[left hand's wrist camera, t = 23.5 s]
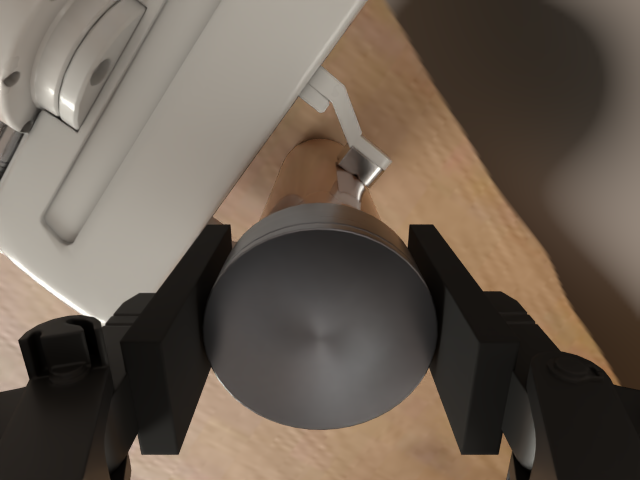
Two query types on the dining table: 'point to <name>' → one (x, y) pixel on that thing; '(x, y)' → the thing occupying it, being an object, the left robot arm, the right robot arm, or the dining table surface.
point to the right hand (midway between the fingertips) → (336, 224)
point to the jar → (317, 180)
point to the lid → (320, 318)
